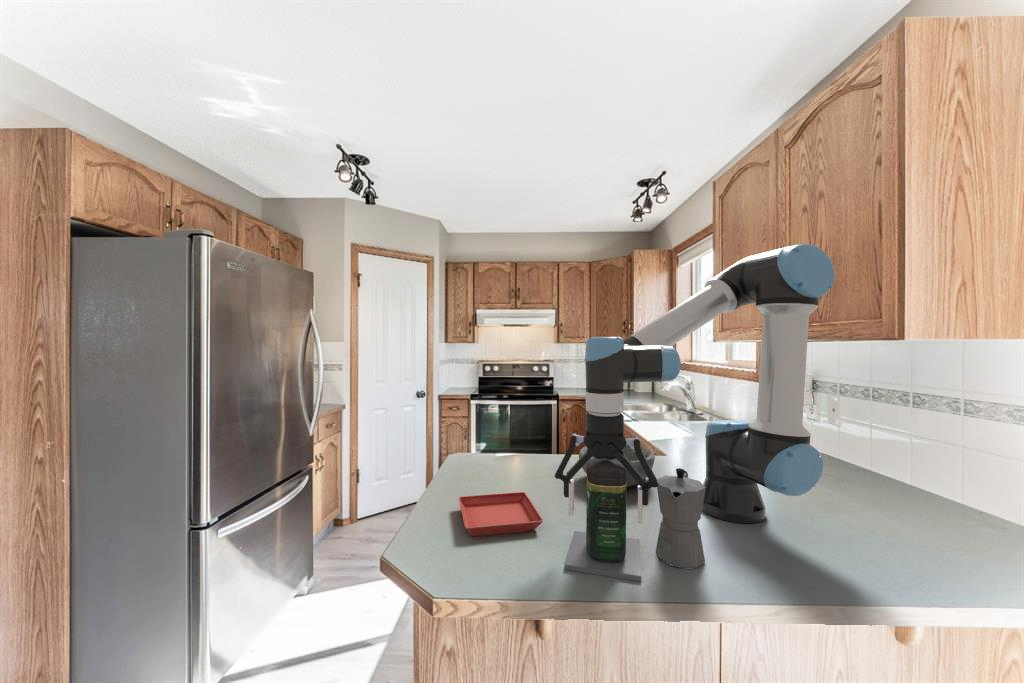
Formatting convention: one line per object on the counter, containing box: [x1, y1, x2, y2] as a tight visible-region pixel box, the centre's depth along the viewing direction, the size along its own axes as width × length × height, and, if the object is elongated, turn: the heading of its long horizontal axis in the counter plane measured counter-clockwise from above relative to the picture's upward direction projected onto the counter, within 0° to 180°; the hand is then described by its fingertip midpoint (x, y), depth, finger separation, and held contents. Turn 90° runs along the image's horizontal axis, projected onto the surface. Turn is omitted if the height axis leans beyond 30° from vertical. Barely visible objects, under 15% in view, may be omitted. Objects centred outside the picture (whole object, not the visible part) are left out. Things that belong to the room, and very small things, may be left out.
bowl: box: [578, 445, 656, 488], centre depth 125 cm, size 23×22×10 cm
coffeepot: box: [655, 467, 706, 569], centre depth 83 cm, size 15×9×18 cm, turn 151°
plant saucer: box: [458, 491, 544, 537], centre depth 99 cm, size 18×18×3 cm
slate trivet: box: [564, 530, 642, 582], centre depth 83 cm, size 14×14×1 cm
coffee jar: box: [585, 458, 627, 562], centre depth 83 cm, size 10×8×19 cm
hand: (605, 516), depth 83 cm, fingers open, 13 cm apart
